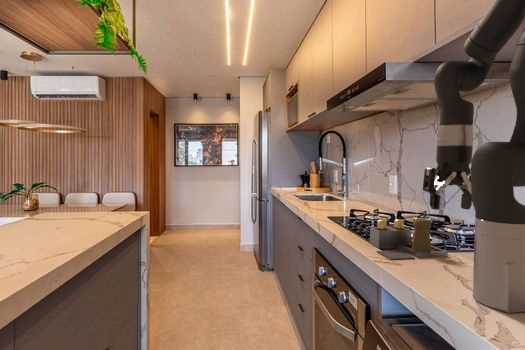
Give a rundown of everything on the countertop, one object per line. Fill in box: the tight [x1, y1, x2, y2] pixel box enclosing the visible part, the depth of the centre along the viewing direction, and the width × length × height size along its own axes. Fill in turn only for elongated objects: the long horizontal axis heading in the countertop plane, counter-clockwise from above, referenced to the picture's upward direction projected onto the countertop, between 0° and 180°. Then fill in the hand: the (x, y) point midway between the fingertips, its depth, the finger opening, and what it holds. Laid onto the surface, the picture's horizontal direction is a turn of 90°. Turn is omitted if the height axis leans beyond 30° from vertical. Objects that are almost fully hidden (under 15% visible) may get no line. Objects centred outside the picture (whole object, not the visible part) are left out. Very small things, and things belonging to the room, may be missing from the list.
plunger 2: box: [393, 218, 405, 230], centre depth 107 cm, size 3×3×5 cm
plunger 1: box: [376, 219, 388, 230], centre depth 107 cm, size 3×3×5 cm
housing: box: [369, 226, 449, 259], centre depth 102 cm, size 17×17×6 cm
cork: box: [411, 217, 432, 252], centre depth 99 cm, size 6×6×11 cm
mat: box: [376, 249, 416, 261], centre depth 96 cm, size 8×8×1 cm
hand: (450, 209), depth 77 cm, fingers open, 8 cm apart
